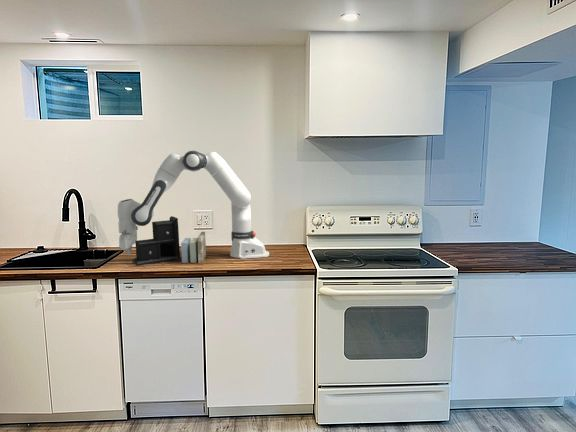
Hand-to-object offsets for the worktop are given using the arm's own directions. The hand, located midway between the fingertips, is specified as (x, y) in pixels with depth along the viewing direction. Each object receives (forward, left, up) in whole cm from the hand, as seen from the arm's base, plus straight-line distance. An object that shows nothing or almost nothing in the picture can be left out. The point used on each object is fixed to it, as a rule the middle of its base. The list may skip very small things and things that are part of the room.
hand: (129, 254), depth 223 cm
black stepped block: (-15, 0, -4) cm, 15 cm away
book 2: (-35, 0, -4) cm, 36 cm away
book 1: (-31, 0, -4) cm, 31 cm away
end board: (-39, 0, -4) cm, 40 cm away
